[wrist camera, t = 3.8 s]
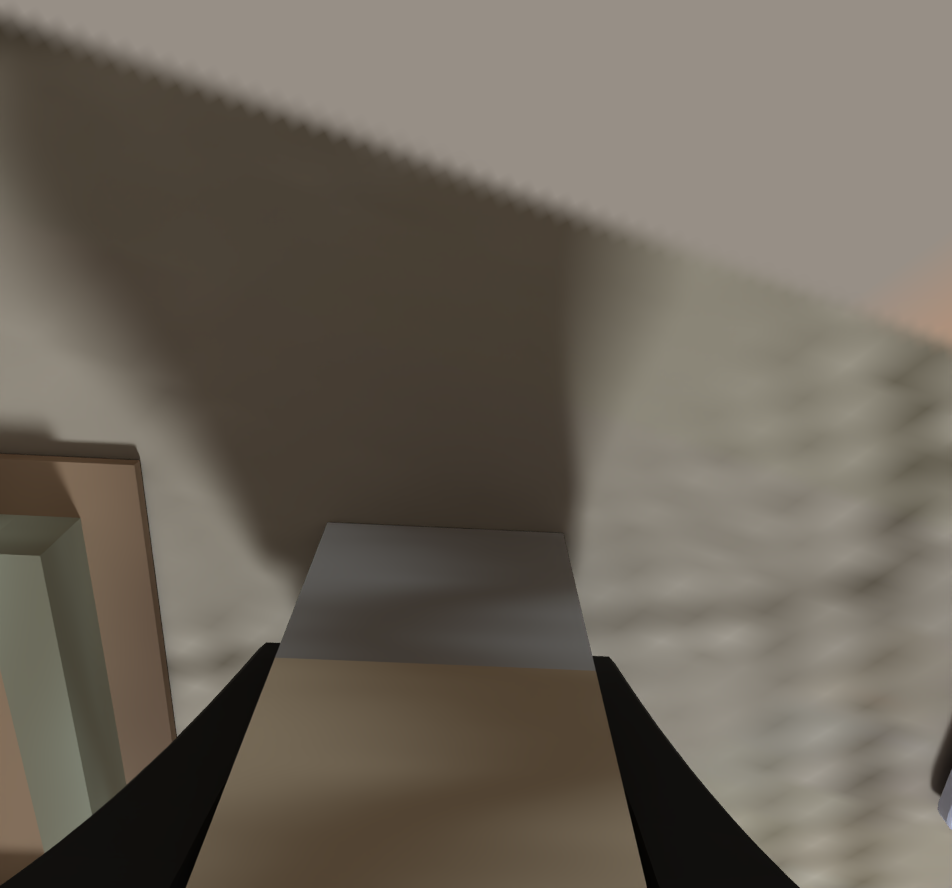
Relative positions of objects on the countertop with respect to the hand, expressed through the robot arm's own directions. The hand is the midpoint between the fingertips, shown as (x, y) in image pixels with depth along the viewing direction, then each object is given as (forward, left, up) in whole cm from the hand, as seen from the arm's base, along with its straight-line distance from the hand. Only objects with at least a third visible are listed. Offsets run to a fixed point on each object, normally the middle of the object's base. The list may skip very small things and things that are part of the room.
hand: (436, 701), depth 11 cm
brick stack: (0, 0, -2) cm, 2 cm away
